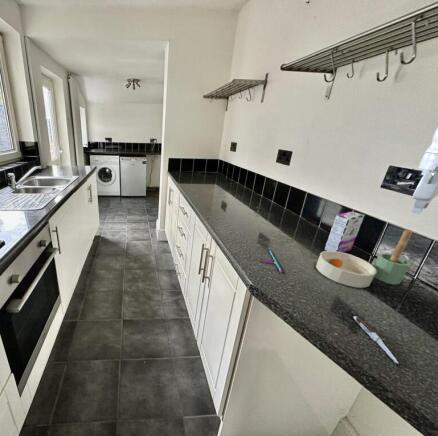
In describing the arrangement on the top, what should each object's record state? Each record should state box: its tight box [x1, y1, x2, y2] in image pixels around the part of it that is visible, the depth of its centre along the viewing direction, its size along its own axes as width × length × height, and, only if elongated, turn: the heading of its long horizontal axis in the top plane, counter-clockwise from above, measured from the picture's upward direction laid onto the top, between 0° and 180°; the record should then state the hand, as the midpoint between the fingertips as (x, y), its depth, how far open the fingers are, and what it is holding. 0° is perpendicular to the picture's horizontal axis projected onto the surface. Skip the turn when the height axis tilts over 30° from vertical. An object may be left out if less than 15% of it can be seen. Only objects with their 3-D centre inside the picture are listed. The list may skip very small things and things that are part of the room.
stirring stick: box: [389, 229, 414, 263], centre depth 77 cm, size 2×2×18 cm
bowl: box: [315, 250, 377, 288], centre depth 80 cm, size 15×15×6 cm
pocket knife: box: [353, 315, 400, 365], centre depth 56 cm, size 14×1×2 cm, turn 173°
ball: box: [331, 259, 343, 267], centre depth 84 cm, size 3×3×3 cm
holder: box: [372, 252, 412, 285], centre depth 79 cm, size 8×8×8 cm
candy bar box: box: [324, 211, 366, 253], centre depth 95 cm, size 11×5×16 cm, turn 114°
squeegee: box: [262, 250, 283, 274], centre depth 88 cm, size 15×1×5 cm
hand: (419, 210), depth 71 cm, fingers open, 8 cm apart
